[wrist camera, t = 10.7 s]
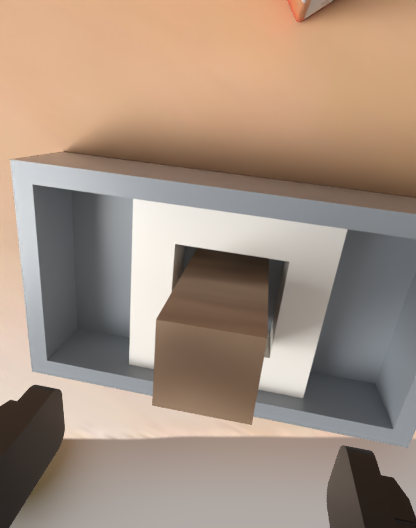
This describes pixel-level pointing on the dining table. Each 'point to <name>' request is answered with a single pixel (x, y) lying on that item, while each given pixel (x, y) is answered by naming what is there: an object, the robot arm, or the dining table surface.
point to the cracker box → (306, 7)
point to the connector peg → (213, 337)
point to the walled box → (234, 241)
